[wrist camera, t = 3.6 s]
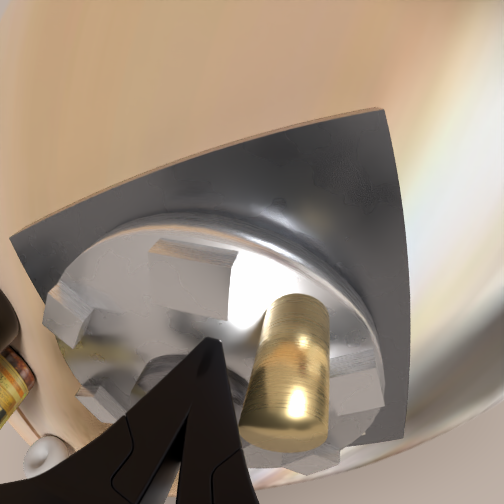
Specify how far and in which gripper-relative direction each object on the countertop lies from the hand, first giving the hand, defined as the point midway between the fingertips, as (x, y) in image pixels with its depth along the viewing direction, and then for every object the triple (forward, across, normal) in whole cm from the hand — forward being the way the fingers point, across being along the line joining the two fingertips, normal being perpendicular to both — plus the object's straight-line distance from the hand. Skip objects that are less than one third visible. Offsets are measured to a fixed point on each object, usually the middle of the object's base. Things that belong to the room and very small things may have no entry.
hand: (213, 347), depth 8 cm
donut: (+7, +22, +43) cm, 49 cm away
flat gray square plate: (+6, 0, +7) cm, 9 cm away
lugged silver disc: (+5, 0, +7) cm, 8 cm away
